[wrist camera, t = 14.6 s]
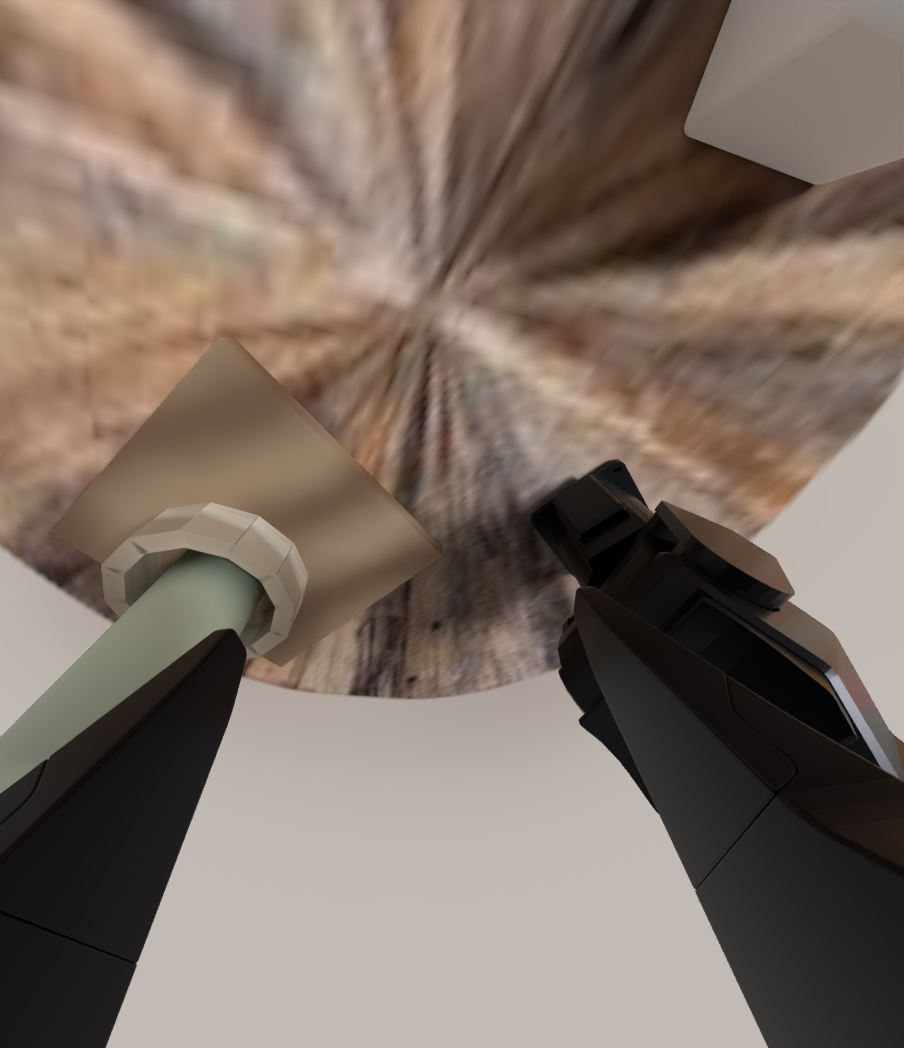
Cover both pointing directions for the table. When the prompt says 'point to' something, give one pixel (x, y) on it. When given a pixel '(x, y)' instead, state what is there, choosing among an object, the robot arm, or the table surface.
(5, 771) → the pale green peg
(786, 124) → the medicine bottle
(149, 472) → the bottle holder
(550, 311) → the table surface
